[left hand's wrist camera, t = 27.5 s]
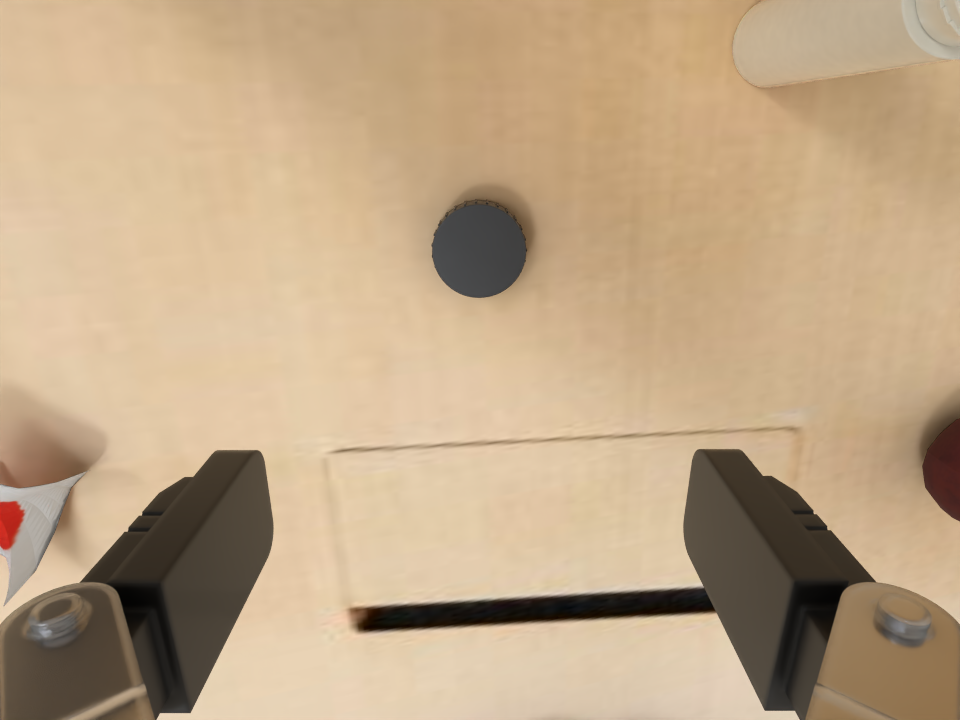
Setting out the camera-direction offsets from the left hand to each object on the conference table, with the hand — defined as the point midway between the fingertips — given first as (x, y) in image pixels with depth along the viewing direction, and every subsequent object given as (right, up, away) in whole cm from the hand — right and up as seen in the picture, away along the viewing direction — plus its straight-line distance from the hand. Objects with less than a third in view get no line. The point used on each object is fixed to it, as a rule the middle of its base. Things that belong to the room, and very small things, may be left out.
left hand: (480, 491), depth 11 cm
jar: (+16, +19, +21) cm, 33 cm away
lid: (0, +9, +23) cm, 25 cm away
